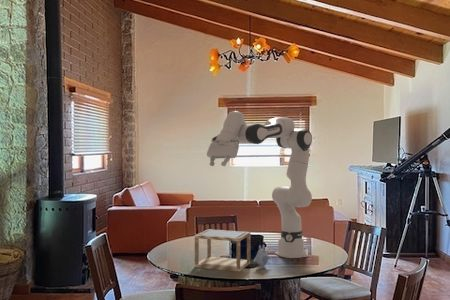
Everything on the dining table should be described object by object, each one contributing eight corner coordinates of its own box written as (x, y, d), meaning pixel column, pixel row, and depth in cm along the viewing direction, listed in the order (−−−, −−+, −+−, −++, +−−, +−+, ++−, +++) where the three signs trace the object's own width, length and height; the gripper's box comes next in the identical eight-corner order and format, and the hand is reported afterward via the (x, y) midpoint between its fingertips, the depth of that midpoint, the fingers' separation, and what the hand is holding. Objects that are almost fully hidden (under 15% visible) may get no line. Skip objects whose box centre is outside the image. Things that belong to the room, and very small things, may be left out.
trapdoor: (245, 238, 246) (245, 232, 246) (236, 244, 233) (236, 237, 233) (210, 236, 253) (210, 230, 253) (199, 241, 240) (199, 234, 240)
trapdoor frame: (250, 263, 247) (250, 232, 247) (239, 271, 230) (239, 238, 230) (208, 259, 256) (208, 229, 255) (194, 267, 239) (194, 235, 239)
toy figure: (257, 271, 231) (257, 247, 231) (249, 268, 236) (249, 245, 236) (273, 268, 237) (273, 244, 237) (266, 265, 242) (266, 242, 242)
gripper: (244, 142, 224) (235, 168, 220) (218, 144, 240) (209, 168, 236) (235, 136, 220) (225, 162, 216) (210, 138, 236) (200, 162, 232)
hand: (217, 165), depth 226 cm, fingers open, 8 cm apart
